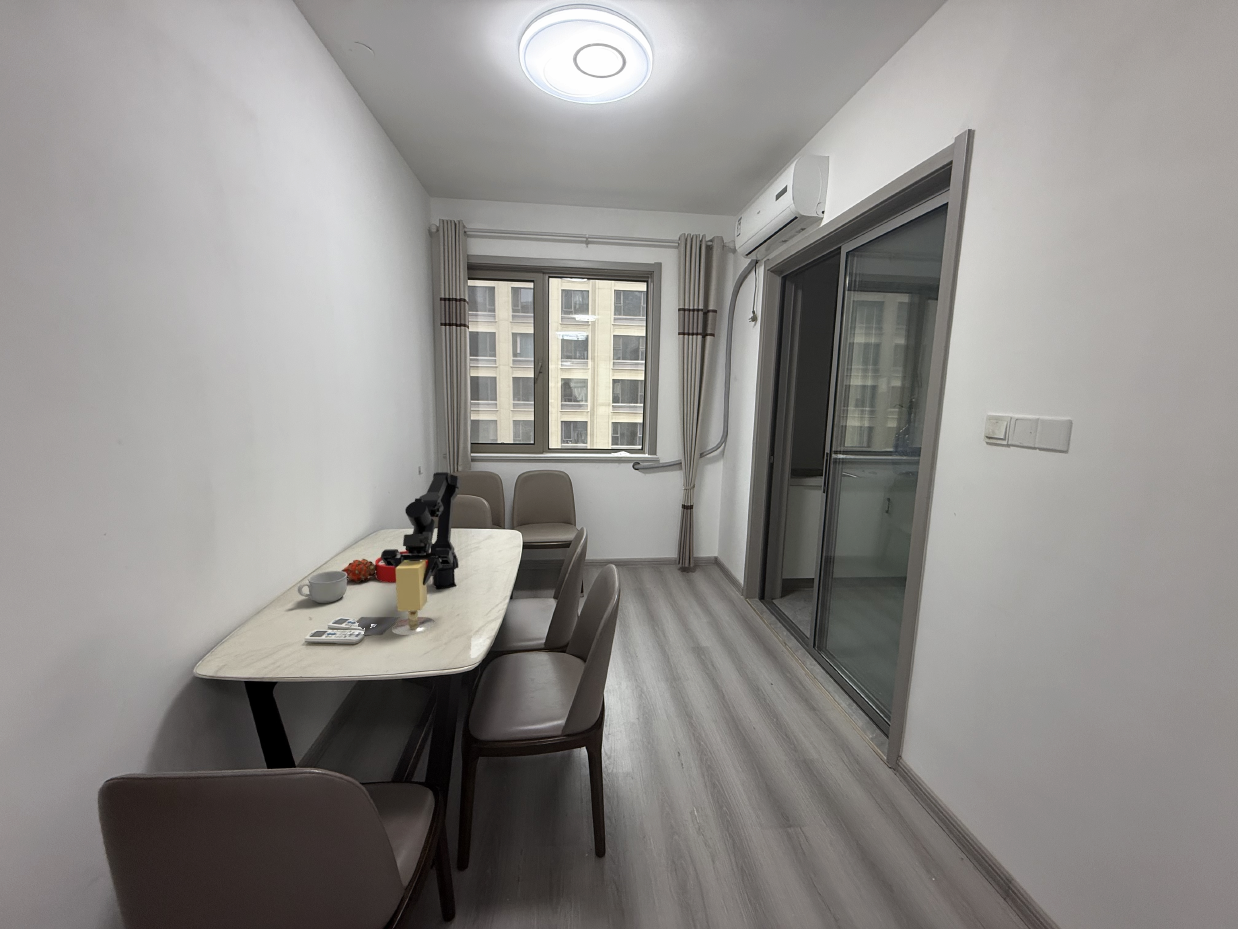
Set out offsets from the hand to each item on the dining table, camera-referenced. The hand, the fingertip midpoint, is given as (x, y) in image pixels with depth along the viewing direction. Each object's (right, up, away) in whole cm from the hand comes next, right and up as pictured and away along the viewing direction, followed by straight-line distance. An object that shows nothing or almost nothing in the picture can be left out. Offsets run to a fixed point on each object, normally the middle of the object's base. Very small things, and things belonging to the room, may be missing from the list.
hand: (411, 585), depth 133 cm
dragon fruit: (-35, -8, +38) cm, 53 cm away
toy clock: (-23, -8, +47) cm, 53 cm away
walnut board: (-6, -13, +1) cm, 14 cm away
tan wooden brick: (0, -6, +1) cm, 6 cm away
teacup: (-37, -10, +20) cm, 44 cm away
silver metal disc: (0, -12, +1) cm, 12 cm away
